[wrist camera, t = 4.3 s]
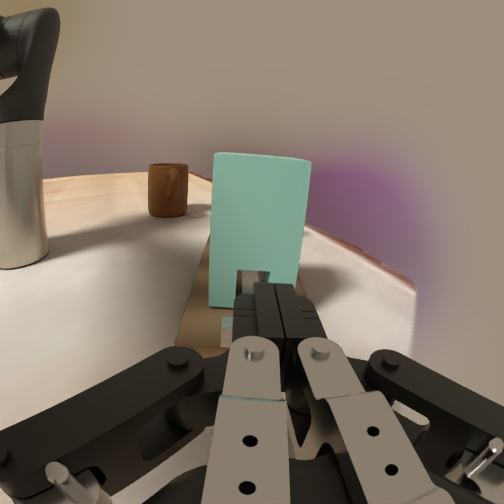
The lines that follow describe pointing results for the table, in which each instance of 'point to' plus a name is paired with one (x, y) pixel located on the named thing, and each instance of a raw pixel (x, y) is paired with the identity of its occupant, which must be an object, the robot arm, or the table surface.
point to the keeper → (255, 220)
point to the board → (208, 313)
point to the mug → (167, 189)
